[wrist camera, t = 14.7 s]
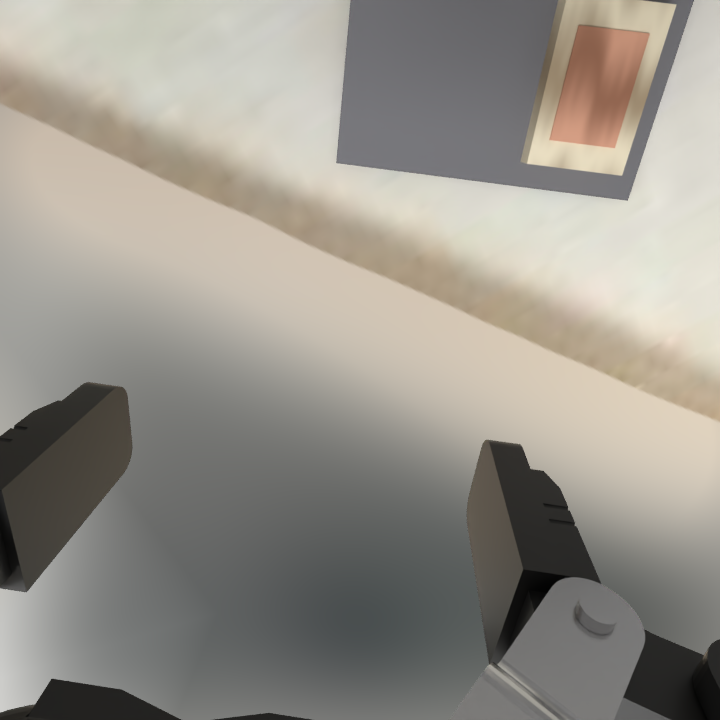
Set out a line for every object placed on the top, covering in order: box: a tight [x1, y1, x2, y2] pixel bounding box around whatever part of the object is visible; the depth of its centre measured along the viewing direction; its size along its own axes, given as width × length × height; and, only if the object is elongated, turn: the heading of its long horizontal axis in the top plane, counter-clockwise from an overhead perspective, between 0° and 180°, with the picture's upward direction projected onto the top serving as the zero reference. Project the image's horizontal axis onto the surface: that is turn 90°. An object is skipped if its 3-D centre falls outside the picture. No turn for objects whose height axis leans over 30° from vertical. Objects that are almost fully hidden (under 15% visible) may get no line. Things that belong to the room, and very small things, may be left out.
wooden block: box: [520, 0, 677, 176], centre depth 31 cm, size 9×2×6 cm
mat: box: [336, 0, 694, 201], centre depth 32 cm, size 20×12×1 cm, turn 83°
